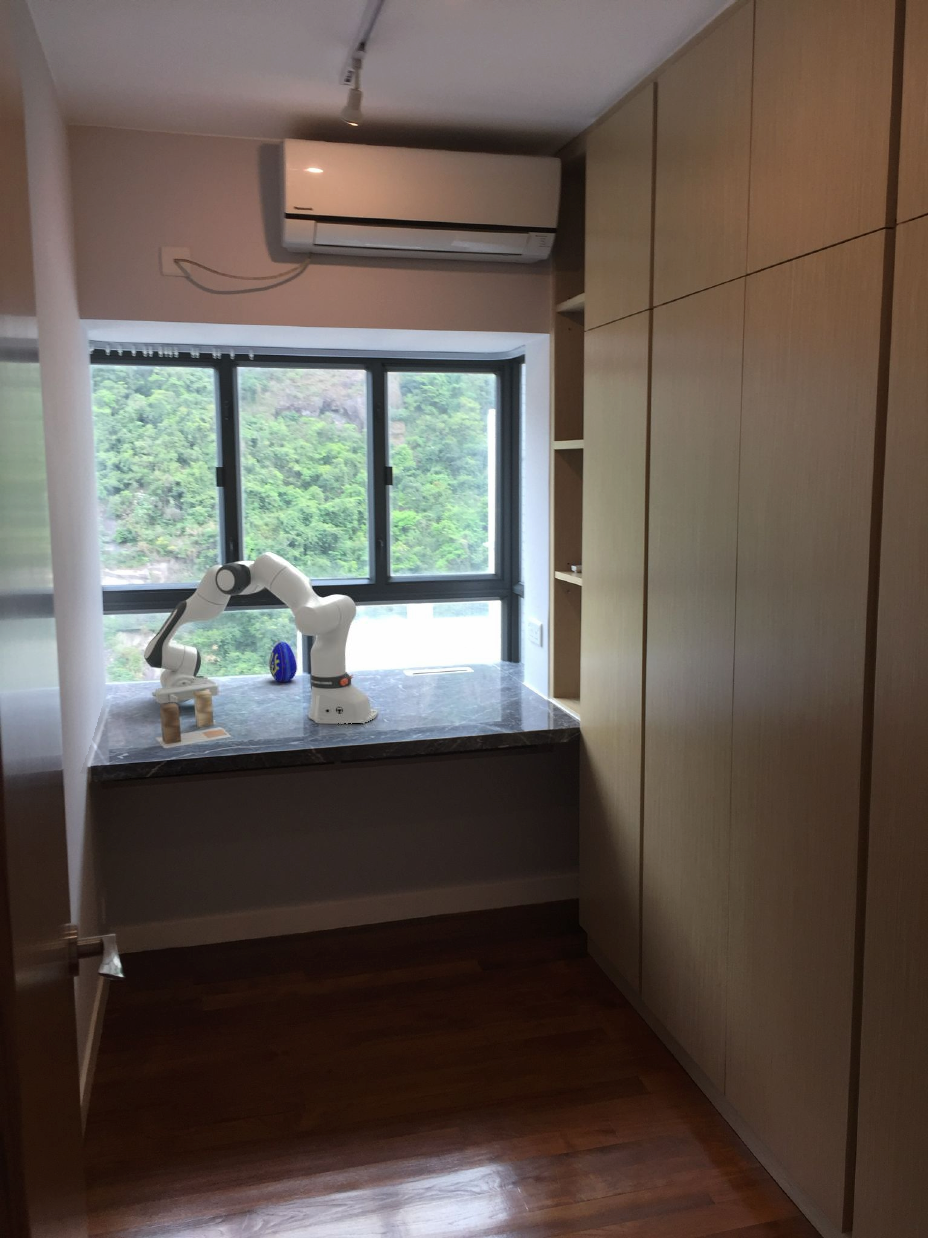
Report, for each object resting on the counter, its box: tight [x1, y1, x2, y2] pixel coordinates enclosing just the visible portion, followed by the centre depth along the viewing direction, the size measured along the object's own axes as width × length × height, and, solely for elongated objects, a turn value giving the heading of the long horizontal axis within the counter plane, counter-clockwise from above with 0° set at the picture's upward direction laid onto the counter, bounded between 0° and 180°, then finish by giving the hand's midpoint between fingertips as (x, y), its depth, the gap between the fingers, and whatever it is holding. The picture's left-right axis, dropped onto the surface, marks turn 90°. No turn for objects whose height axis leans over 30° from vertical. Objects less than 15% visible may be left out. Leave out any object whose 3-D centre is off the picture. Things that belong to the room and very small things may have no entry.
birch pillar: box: [193, 690, 215, 728], centre depth 298 cm, size 4×4×11 cm
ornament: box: [268, 641, 298, 683], centre depth 350 cm, size 11×9×15 cm
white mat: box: [155, 726, 232, 749], centre depth 286 cm, size 20×11×1 cm, turn 121°
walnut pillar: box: [159, 702, 182, 744], centre depth 282 cm, size 4×4×11 cm
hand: (192, 698), depth 308 cm, fingers open, 8 cm apart
